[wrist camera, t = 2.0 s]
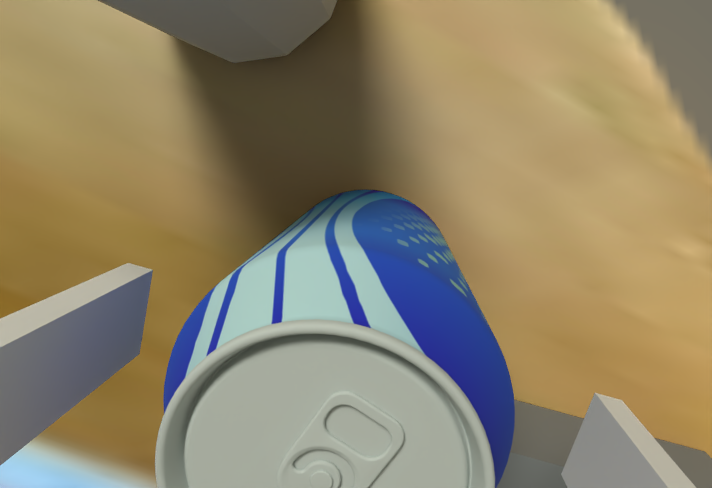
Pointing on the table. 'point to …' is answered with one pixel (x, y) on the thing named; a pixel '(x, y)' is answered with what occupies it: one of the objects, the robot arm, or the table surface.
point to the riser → (554, 443)
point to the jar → (233, 23)
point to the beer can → (339, 363)
